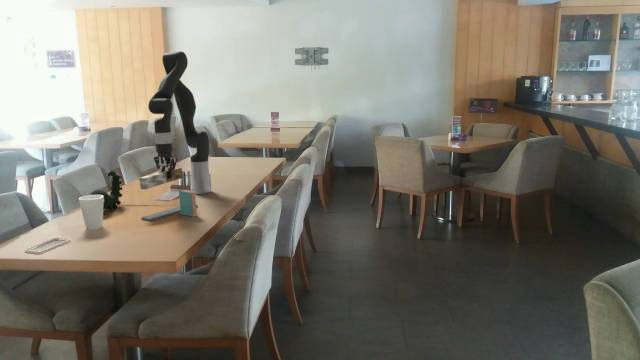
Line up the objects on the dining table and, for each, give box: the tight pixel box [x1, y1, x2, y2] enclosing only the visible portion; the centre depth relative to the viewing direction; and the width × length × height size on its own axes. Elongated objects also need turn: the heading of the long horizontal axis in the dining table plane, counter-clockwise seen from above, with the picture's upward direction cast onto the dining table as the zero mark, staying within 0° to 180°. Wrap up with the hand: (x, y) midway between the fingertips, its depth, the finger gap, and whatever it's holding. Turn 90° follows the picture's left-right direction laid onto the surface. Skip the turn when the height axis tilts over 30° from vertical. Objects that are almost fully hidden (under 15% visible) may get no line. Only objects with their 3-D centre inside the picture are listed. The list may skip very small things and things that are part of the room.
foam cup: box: [78, 194, 104, 231], centre depth 213 cm, size 10×9×13 cm
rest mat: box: [141, 204, 199, 222], centre depth 236 cm, size 28×6×1 cm, turn 148°
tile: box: [178, 189, 198, 217], centre depth 231 cm, size 2×8×11 cm, turn 58°
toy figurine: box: [89, 170, 123, 211], centre depth 240 cm, size 9×19×25 cm
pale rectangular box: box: [138, 166, 184, 190], centre depth 238 cm, size 22×3×5 cm, turn 147°
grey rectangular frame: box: [24, 237, 71, 255], centre depth 191 cm, size 7×1×15 cm
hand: (166, 178), depth 240 cm, fingers closed on pale rectangular box, 3 cm apart
